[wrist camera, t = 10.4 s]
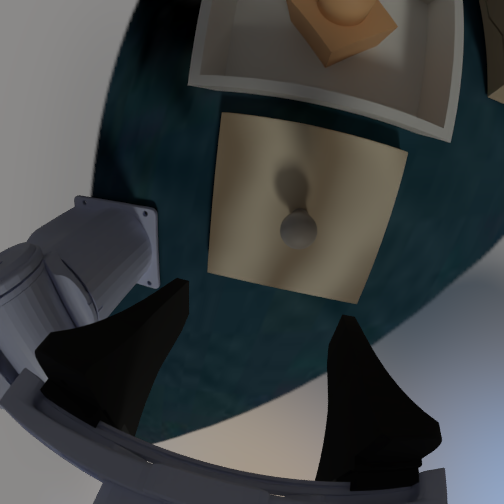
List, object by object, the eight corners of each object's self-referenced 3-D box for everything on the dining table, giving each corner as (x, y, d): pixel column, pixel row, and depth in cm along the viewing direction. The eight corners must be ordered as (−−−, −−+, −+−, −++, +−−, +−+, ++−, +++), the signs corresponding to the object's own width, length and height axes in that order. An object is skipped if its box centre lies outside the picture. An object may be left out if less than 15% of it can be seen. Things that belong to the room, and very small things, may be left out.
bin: (217, 90, 17) (187, 85, 12) (239, -36, 11) (219, -68, 7) (417, 133, 15) (450, 142, 11) (432, 4, 10) (461, -17, 5)
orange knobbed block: (325, 67, 14) (337, 38, 8) (290, 21, 13) (278, -30, 6) (376, 46, 13) (416, 10, 6) (342, -1, 11) (357, -56, 5)
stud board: (213, 262, 23) (192, 298, 19) (228, 112, 17) (203, 113, 13) (354, 292, 22) (361, 334, 18) (401, 149, 16) (428, 162, 12)
